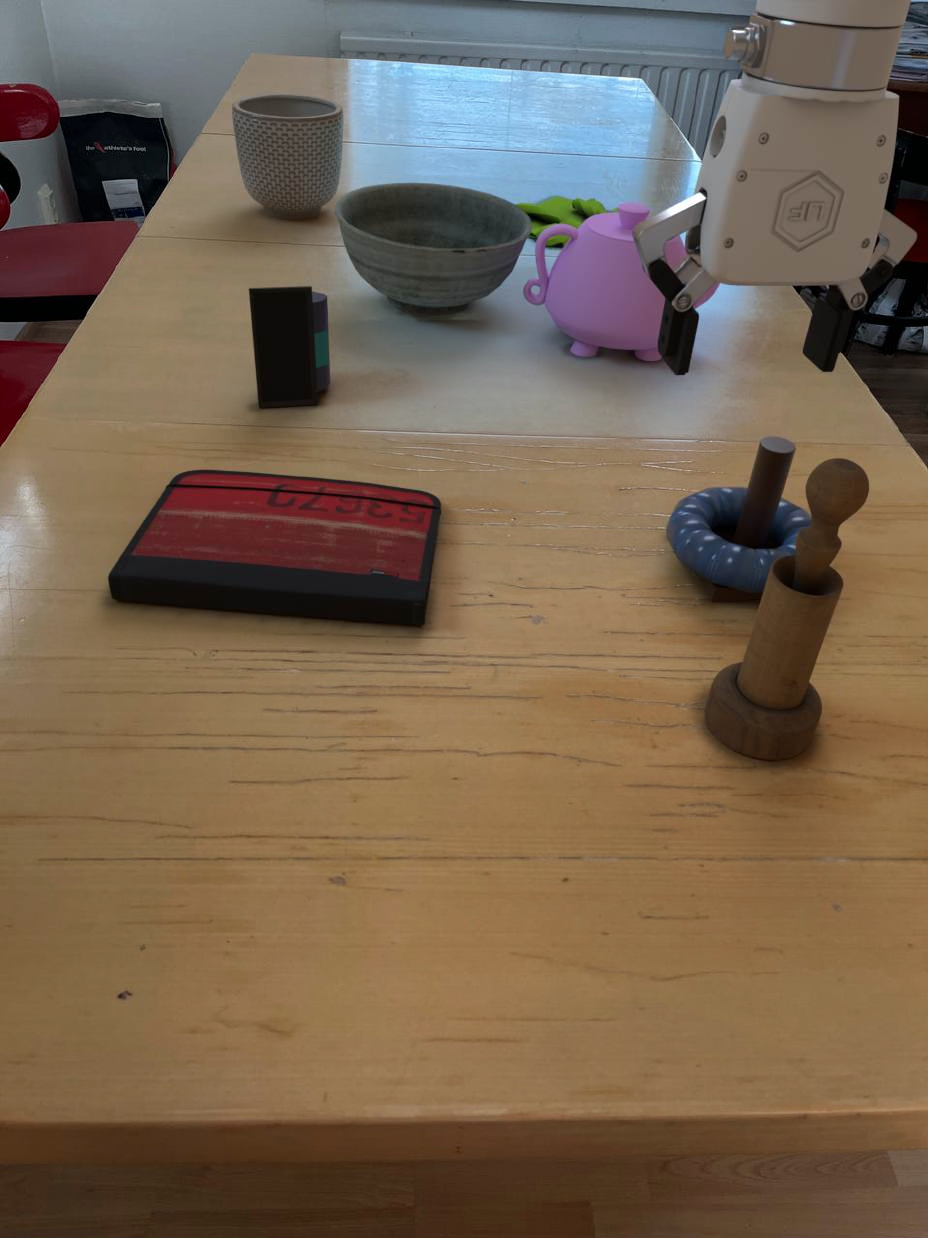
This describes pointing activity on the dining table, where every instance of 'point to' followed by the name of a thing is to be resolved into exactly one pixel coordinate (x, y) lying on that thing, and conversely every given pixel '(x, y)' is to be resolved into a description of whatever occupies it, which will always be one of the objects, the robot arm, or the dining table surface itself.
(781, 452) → the stand
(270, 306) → the speaker
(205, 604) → the ink pad
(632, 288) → the teapot
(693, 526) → the blue ring
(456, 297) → the bowl
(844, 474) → the mortar and pestle
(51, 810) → the dining table surface
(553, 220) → the cloth
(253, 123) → the planter
